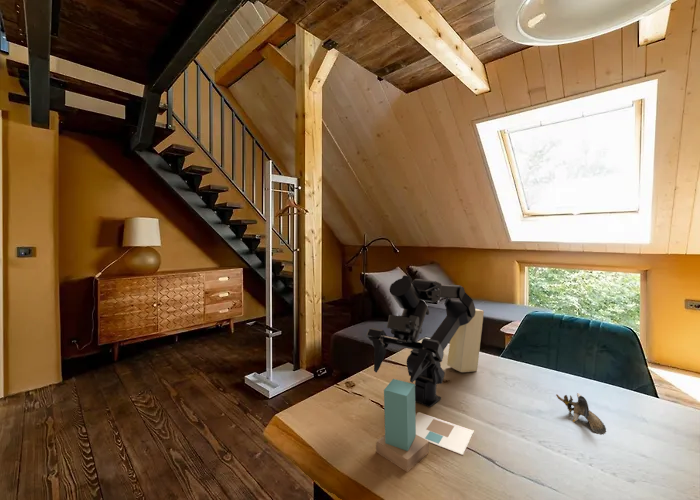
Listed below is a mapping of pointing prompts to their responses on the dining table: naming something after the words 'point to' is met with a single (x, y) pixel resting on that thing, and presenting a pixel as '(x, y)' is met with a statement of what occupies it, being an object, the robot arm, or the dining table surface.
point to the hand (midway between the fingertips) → (392, 376)
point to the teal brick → (400, 414)
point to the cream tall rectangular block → (466, 345)
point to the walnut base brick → (403, 452)
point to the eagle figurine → (583, 412)
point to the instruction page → (443, 433)
